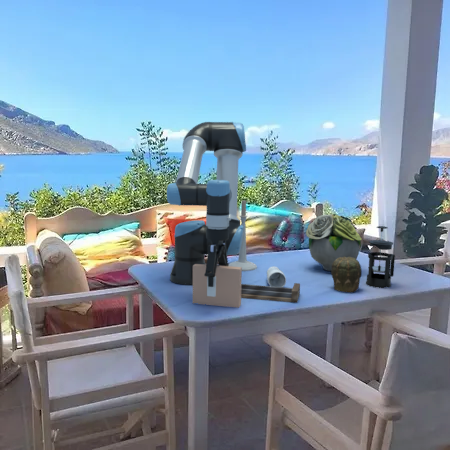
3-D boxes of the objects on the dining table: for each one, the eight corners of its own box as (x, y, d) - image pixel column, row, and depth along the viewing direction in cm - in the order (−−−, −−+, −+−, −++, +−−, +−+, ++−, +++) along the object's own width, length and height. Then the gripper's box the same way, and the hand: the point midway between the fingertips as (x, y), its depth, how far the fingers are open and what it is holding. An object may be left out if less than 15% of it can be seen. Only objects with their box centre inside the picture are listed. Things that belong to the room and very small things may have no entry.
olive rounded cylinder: (355, 284, 187) (356, 254, 185) (364, 293, 176) (366, 261, 174) (327, 284, 186) (328, 254, 184) (334, 293, 176) (336, 261, 174)
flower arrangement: (292, 268, 211) (294, 213, 207) (327, 260, 227) (329, 209, 224) (340, 280, 193) (343, 220, 189) (374, 270, 209) (377, 215, 205)
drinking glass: (278, 283, 193) (282, 291, 178) (262, 278, 193) (265, 286, 178) (284, 267, 192) (288, 274, 177) (268, 262, 192) (271, 269, 177)
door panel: (192, 303, 162) (192, 265, 160) (195, 300, 164) (195, 263, 162) (239, 307, 158) (239, 269, 156) (240, 304, 161) (241, 267, 159)
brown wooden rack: (217, 295, 170) (217, 284, 170) (224, 287, 180) (224, 277, 179) (297, 302, 164) (297, 291, 163) (299, 294, 173) (300, 283, 173)
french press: (374, 289, 181) (378, 229, 178) (359, 282, 190) (362, 225, 186) (399, 286, 185) (404, 227, 182) (383, 280, 194) (387, 223, 190)
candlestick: (256, 264, 218) (257, 198, 213) (257, 271, 205) (259, 201, 200) (228, 263, 218) (229, 197, 213) (227, 270, 205) (228, 200, 201)
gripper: (219, 234, 144) (218, 302, 147) (237, 222, 168) (235, 281, 171) (195, 232, 146) (194, 300, 149) (216, 221, 170) (215, 280, 173)
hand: (216, 290), depth 160 cm, fingers open, 13 cm apart
